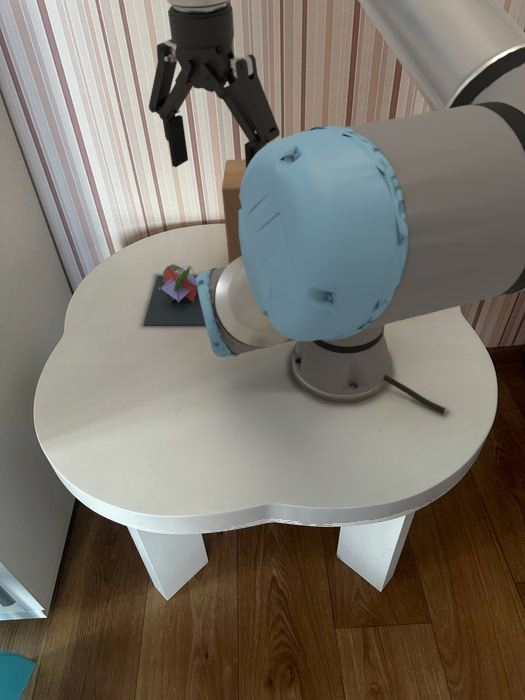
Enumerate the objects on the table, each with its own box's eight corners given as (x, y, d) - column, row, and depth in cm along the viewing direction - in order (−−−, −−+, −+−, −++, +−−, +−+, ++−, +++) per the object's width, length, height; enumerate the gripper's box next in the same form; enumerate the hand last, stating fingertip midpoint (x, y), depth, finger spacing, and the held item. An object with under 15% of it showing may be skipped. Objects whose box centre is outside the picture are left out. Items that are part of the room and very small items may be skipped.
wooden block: (284, 284, 105) (283, 185, 91) (230, 285, 105) (221, 187, 91) (284, 253, 112) (283, 157, 98) (233, 254, 112) (225, 158, 98)
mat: (212, 325, 97) (212, 324, 97) (143, 325, 98) (143, 324, 98) (219, 276, 107) (219, 275, 107) (157, 276, 108) (157, 275, 108)
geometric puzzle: (216, 287, 101) (190, 250, 98) (194, 309, 97) (166, 271, 94) (193, 296, 106) (167, 261, 104) (171, 317, 102) (144, 282, 99)
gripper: (100, -2, 68) (134, 163, 83) (269, 27, 58) (273, 211, 73) (143, -15, 73) (168, 144, 88) (308, 9, 62) (305, 186, 77)
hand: (216, 175), depth 80 cm, fingers open, 13 cm apart
